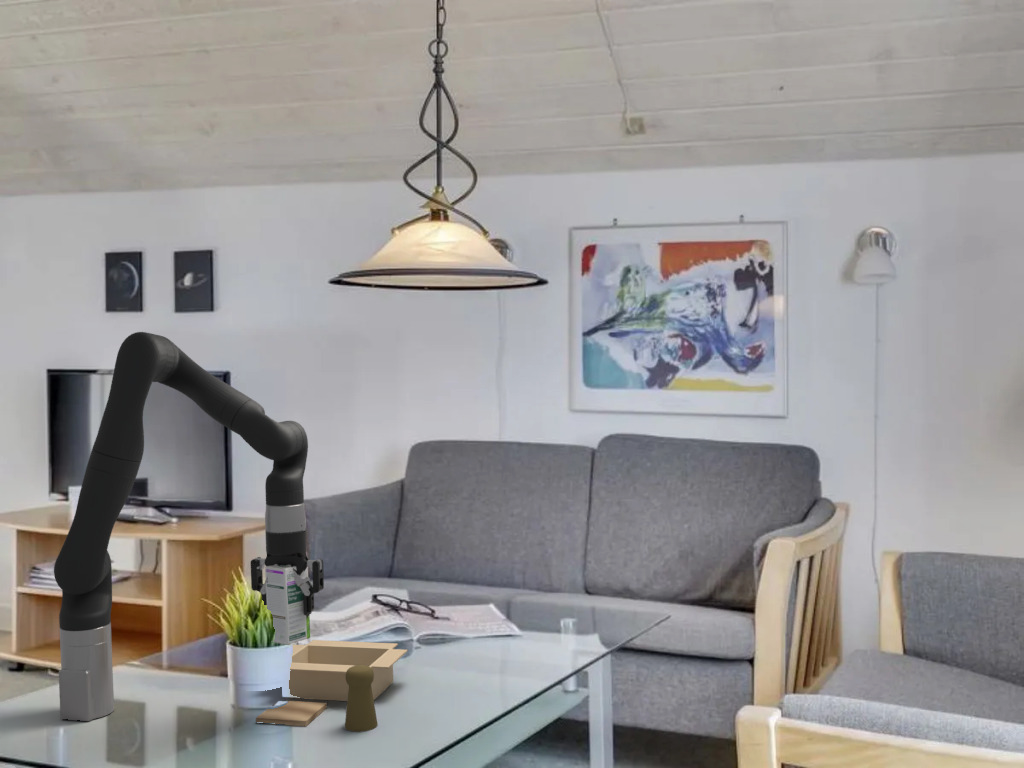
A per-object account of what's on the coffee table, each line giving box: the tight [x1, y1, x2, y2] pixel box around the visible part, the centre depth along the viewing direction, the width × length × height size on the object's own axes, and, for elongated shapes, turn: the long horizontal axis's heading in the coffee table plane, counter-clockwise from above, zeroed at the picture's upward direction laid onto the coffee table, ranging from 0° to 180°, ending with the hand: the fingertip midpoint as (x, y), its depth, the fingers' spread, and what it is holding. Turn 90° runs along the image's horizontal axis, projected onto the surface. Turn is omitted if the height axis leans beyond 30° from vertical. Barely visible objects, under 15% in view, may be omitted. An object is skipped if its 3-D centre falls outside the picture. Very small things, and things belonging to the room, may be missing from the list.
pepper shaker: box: [344, 665, 378, 733], centre depth 202 cm, size 6×6×11 cm
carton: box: [289, 639, 409, 702], centre depth 223 cm, size 26×20×7 cm
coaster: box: [255, 700, 328, 727], centre depth 208 cm, size 10×10×1 cm
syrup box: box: [264, 565, 311, 646], centre depth 207 cm, size 6×6×14 cm
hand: (288, 613), depth 207 cm, fingers closed on syrup box, 7 cm apart
